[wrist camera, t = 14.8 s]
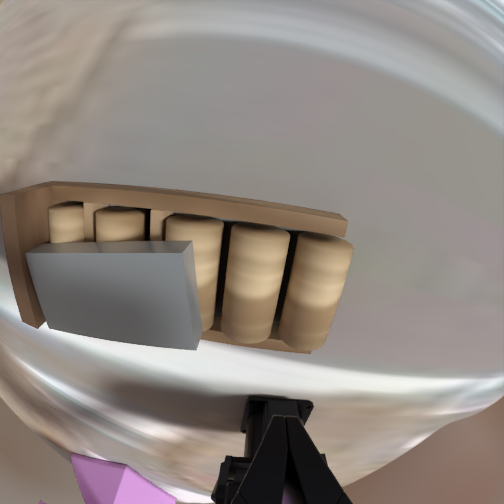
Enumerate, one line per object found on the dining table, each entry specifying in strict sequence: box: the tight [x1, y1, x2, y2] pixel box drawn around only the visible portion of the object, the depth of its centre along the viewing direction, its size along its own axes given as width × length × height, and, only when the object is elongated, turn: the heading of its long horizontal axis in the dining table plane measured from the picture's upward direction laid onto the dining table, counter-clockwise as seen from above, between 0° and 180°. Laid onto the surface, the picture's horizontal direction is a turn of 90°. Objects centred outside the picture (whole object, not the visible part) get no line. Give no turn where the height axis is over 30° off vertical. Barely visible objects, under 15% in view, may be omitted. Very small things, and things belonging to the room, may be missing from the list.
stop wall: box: [0, 181, 68, 329], centre depth 16 cm, size 10×2×6 cm, turn 172°
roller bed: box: [48, 182, 354, 354], centre depth 18 cm, size 10×22×4 cm, turn 82°
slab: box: [25, 240, 203, 350], centre depth 15 cm, size 6×12×2 cm, turn 91°
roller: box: [96, 206, 146, 242], centre depth 18 cm, size 7×4×4 cm, turn 172°
